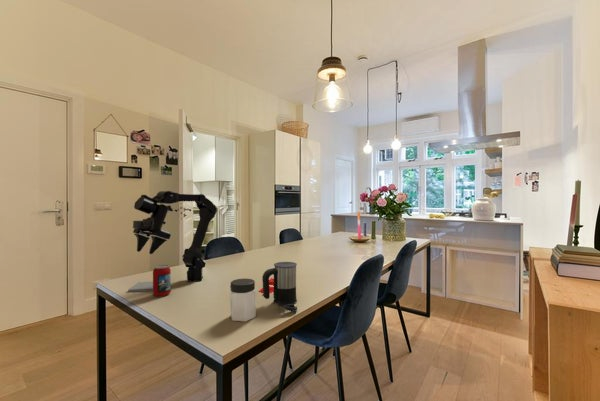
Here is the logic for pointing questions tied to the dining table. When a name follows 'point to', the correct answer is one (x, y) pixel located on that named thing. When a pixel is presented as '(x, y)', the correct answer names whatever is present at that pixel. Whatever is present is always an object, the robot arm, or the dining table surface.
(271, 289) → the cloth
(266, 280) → the milk frother
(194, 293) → the dining table surface
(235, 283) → the jar
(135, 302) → the dining table surface
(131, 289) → the trivet
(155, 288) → the beverage can
